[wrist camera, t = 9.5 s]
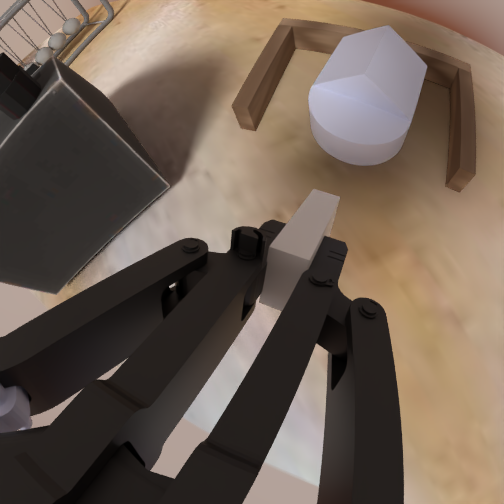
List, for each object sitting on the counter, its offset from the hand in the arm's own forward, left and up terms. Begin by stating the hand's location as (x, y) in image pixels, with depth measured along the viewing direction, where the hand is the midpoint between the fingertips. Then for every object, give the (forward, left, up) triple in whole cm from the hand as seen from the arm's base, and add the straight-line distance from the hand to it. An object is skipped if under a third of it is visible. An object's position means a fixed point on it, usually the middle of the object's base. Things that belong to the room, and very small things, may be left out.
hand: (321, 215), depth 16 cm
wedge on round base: (0, -15, -8) cm, 16 cm away
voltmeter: (+25, +2, -8) cm, 26 cm away
